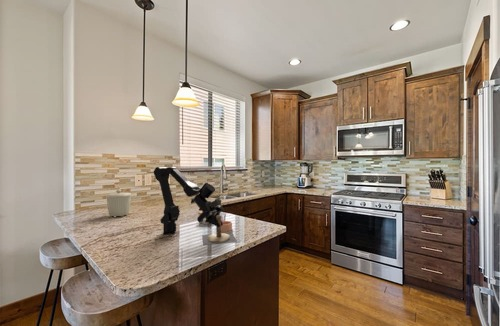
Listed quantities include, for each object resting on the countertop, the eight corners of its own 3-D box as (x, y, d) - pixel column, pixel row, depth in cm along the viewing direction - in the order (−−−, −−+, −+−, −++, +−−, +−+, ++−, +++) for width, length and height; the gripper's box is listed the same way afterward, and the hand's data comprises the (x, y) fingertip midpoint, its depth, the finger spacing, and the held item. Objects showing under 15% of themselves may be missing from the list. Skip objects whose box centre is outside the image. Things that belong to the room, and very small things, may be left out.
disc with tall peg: (208, 243, 110) (208, 219, 110) (207, 236, 121) (206, 214, 121) (231, 241, 112) (231, 217, 113) (228, 234, 124) (227, 212, 124)
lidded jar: (210, 225, 144) (210, 210, 144) (195, 224, 146) (195, 210, 146) (216, 221, 155) (216, 207, 155) (202, 220, 157) (201, 207, 157)
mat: (203, 246, 107) (203, 245, 107) (202, 235, 122) (202, 235, 122) (237, 242, 111) (237, 242, 111) (232, 233, 126) (232, 232, 126)
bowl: (218, 232, 127) (218, 225, 127) (217, 228, 135) (216, 221, 136) (232, 231, 129) (232, 224, 129) (230, 227, 138) (230, 220, 138)
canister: (133, 216, 172) (133, 189, 172) (105, 219, 162) (105, 191, 162) (130, 212, 187) (130, 187, 187) (105, 215, 177) (105, 189, 177)
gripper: (201, 196, 110) (221, 220, 105) (220, 191, 127) (238, 212, 123) (189, 211, 113) (207, 235, 108) (209, 204, 130) (225, 225, 126)
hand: (221, 225), depth 116 cm, fingers closed on disc with tall peg, 3 cm apart
